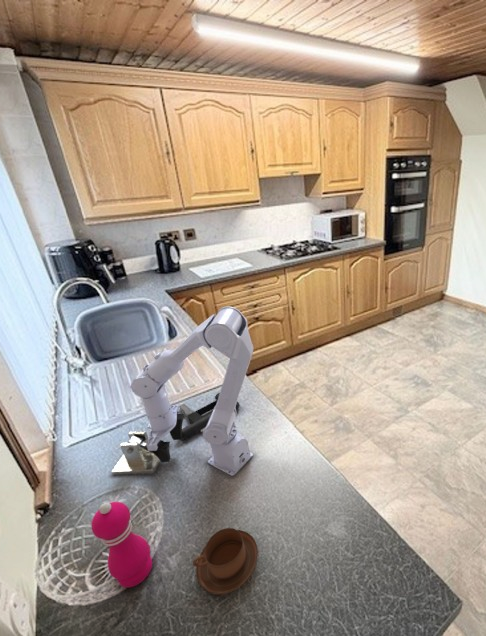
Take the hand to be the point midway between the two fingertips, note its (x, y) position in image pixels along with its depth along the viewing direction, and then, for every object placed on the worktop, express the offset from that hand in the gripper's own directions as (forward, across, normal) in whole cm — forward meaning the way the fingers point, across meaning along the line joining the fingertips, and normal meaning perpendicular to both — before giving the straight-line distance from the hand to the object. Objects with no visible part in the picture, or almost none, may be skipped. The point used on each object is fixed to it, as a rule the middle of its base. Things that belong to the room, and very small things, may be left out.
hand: (172, 449), depth 94 cm
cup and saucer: (+4, +27, +22) cm, 35 cm away
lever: (0, 0, -7) cm, 7 cm away
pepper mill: (+4, +28, +3) cm, 28 cm away
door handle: (+4, -18, +2) cm, 18 cm away
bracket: (+4, 0, -9) cm, 10 cm away
